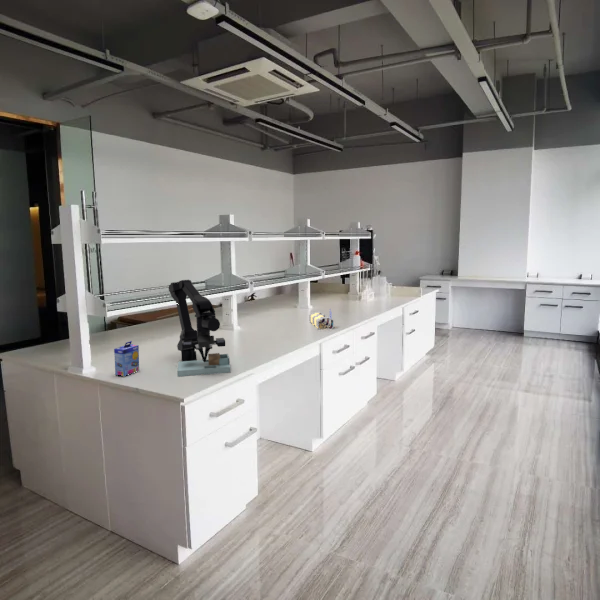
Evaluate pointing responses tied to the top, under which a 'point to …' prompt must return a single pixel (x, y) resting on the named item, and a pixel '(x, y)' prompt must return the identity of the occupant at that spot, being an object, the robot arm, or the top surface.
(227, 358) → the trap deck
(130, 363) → the ink cartridge box
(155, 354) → the top surface
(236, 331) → the top surface
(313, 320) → the diorama
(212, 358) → the walnut block
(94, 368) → the top surface
